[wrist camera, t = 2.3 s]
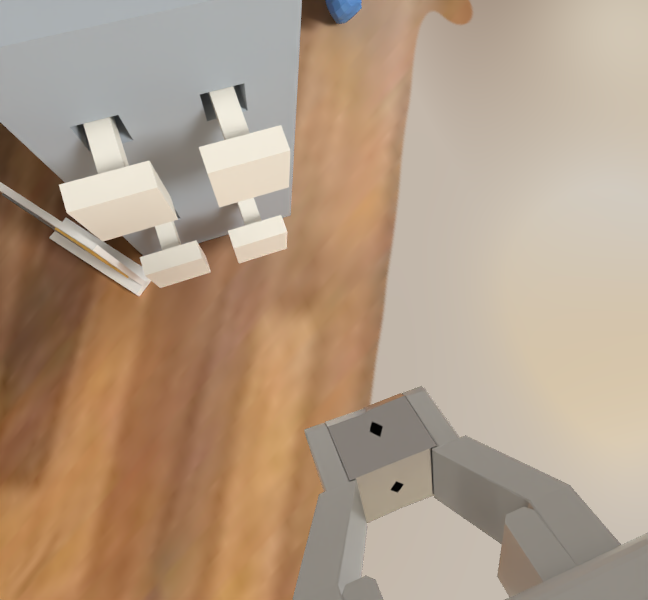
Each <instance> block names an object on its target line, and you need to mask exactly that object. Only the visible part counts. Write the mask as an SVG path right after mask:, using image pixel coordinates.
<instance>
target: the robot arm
mask: <svg viewBox="0 0 648 600" xmlns="http://www.w3.org/2000/svg"><path fill="white" fill-rule="evenodd" d="M304 431H305V435H306V438H307V441H308V444H309V447H310V451H311V454H312V457H313V460H314V463H315V466H316V470H317V473H318V476H319V479H320V482H321V485H322V488H323V490H324V492H323V493H321V494H319V497H318V501H317V505H316V509H315V513H314V517H313V521H312V525H311V529H310V533H309V537H308V540H307V544H306V548H305V552H304V556H303V560H302V564H301V568H300V572H299V576H298V580H297V584H296V588H295V592H294V596H293V600H383V597H382V595H381V593H380V590H379V587H378V585H377V582H376V580H375V579H373V578H370V577H368V576H364V577H362V578H361V576H362V567H363V559H364V551H365V542H366V534H367V523H369V522H371V521H373V520H376V519H378V518H380V517H383V516H385V515H387V514H389V513H391V512H394V511H396V510H398V509H400V508H403V507H406V506H408V505H411V504H413V503H416V502H418V501H421V500H424V499H426V498H429V497H431V496H434V498H436V499H437V500H438V501H440V502H442V503H443V504H444V505H446V506H447V507H449V508H450V509H452V510H453V511H454V512H456V513H457V514H459V515H460V516H462V517H463V518H464V519H466V520H467V521H469V522H470V523H472V524H473V525H475V526H476V527H477V528H479V529H480V530H482V531H483V532H485V533H486V534H488V535H489V536H491V537H492V538H493V539H495V540H496V541H498V542H499V543H500V544H502V547H501V554H500V561H499V568H498V575H497V577H498V578H499V580H500V582H501V583H502V585H503V587H504V588H505V590H506V592H507V594H508V595H509V598H507V599H505V600H648V533H646V534H644V535H642V536H640V537H637V538H635V539H633V540H631V541H629V542H627V543H625V544H623V545H621V544H620V543H619V542H618V540H617V539H616V538H615V537H614V536H613V535H612V534H611V532H610V531H609V530H608V529H607V528H606V527H605V526H604V524H603V523H602V522H601V521H600V520H599V518H598V517H597V516H596V515H595V514H594V513H593V512H592V510H591V509H590V508H589V507H588V506H587V505H586V503H585V502H584V501H583V500H582V499H581V498H580V497H579V495H578V494H577V493H576V492H575V491H574V489H573V488H572V487H571V486H570V485H568V484H566V483H564V482H562V481H560V480H558V479H556V478H554V477H551V476H550V475H548V474H545V473H543V472H541V471H539V470H537V469H535V468H533V467H531V466H529V465H527V464H524V463H522V462H520V461H518V460H516V459H514V458H512V457H510V456H508V455H506V454H503V453H501V452H499V451H497V450H495V449H493V448H491V447H489V446H487V445H485V444H483V443H480V442H478V441H476V440H474V439H472V438H470V437H468V436H466V435H465V436H463V437H459V436H458V434H457V433H456V431H455V430H454V429H453V427H452V426H451V424H450V423H449V422H448V421H447V419H446V417H445V416H444V415H443V413H442V412H441V410H440V409H439V407H438V406H437V405H436V403H435V402H434V401H433V399H432V398H431V396H430V395H429V393H428V392H427V391H426V389H425V388H423V387H422V386H420V387H417V388H415V389H412V390H409V391H407V392H404V393H402V394H397V395H395V396H392V397H390V398H387V399H385V400H382V401H380V402H377V403H375V404H372V405H369V406H367V407H364V408H363V409H361V410H359V411H356V412H353V413H350V414H347V415H344V416H341V417H338V418H335V419H333V420H330V421H327V422H325V423H321V424H319V425H316V426H313V427H310V428H308V429H305V430H304Z"/></svg>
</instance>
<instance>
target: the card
mask: <svg viewBox="0 0 648 600" xmlns="http://www.w3.org/2000/svg"><path fill="white" fill-rule="evenodd" d="M0 192H2V193H3V194H2V195H3V196H4V197H6V198H7V199H9V200H10V201H12V202H13V203H15V204H16V205H18V206H19V207H20V208H22V209H23V210H25V211H26V212H28V213H29V214H31V215H33V216H34V217H36V218H37V219H38V220H40V221H41V222H43V223H44V224H45V225H47V226H48V227H50V228H51V229H53V230H54V232H53V234H52V235H51V236H50V237H49V238H50V239H51V240H53V241H54V242H56V243H57V244H59V245H61V246H62V247H64V248H65V249H67V250H68V251H70V252H71V253H73V254H74V255H76V256H77V257H79V258H81V259H82V260H84V261H85V262H87V263H88V264H90V265H91V266H93V267H94V268H96V269H98V270H99V271H101V272H102V273H104V274H105V275H107V276H108V277H110V278H111V279H113V280H114V281H116V282H118V283H119V284H121V285H122V286H124V287H125V288H127V289H128V290H130V291H131V292H133V293H135V294H136V295H138V296H140V295H141V294H142V292H143V291H144V290H145V288H146V287H147V286H148V284H149V283H150V282H151V280H150V279H149V278H147V277H146V276H145V274H144V270H143V267H142V266H140V265H139V264H137V263H136V262H134V261H133V260H131V259H129V258H128V257H126V256H125V255H123V254H122V253H120V252H119V251H117V250H115V249H114V248H112V247H111V246H109V245H108V244H106V243H105V242H103V241H101V240H100V239H98V238H97V237H95V236H94V235H92V234H91V233H89V232H88V231H86V230H85V229H83V228H81V227H80V226H78V225H77V224H75V223H74V222H72V221H71V220H69V219H68V218H65V219H64V220H63V222H61V221H60V220H58V219H57V218H55V217H54V216H52V215H51V214H49V213H47V212H46V211H44V210H43V209H41V208H40V207H38V206H37V205H35V204H34V203H32V202H30V201H29V200H27V199H26V198H24V197H23V196H21V195H20V194H18V193H17V192H15V191H13V190H12V189H10V188H9V187H7V186H6V185H4V184H3V183H1V182H0Z"/></svg>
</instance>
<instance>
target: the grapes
mask: <svg viewBox="0 0 648 600" xmlns="http://www.w3.org/2000/svg"><path fill="white" fill-rule="evenodd" d="M325 2H326V5H327V8H328V10H329V12H330V14H331V16H332V17H333V19H334V20H335V22H336V23H339V24H342V23H346V22H347V21H348V20H350V19H351V18H352V17H353V16H354V15H355V14H356V13H357V12H358V11H359V10H360V9H361V8H362V7H361V3H362V2H361V0H325Z"/></svg>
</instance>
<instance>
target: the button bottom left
mask: <svg viewBox="0 0 648 600" xmlns="http://www.w3.org/2000/svg"><path fill="white" fill-rule="evenodd" d="M155 228H156V232H157V235H158V238H159V241H160V245H161V248H162V251H159V252H155V253H152V254H149V255H145V256H142V257H140V260H141V264H142V267H143V270H144V274H145V276H146V277H147V278H149V279H150V280H151V281H152V282H154V283H155V284H156V285H157V286H159V287H160V288H162V287H165V286H168V285H172V284H175V283H178V282H181V281H184V280H188V279H191V278H194V277H197V276H200V275H204V274H207V273H210V272H211V271H210V268H209V265H208V262H207V259H206V256H205V254H204V253H203V251H202V249H201V247H200V246H199V244H198V242H197V241H196V240H195V241H192V242H189V243H185V244H182V245H181V242H180V239H179V236H178V233H177V230H176V226H175V223H174V221H172V222H168V223H165V224H161V225H158V226H155Z"/></svg>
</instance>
